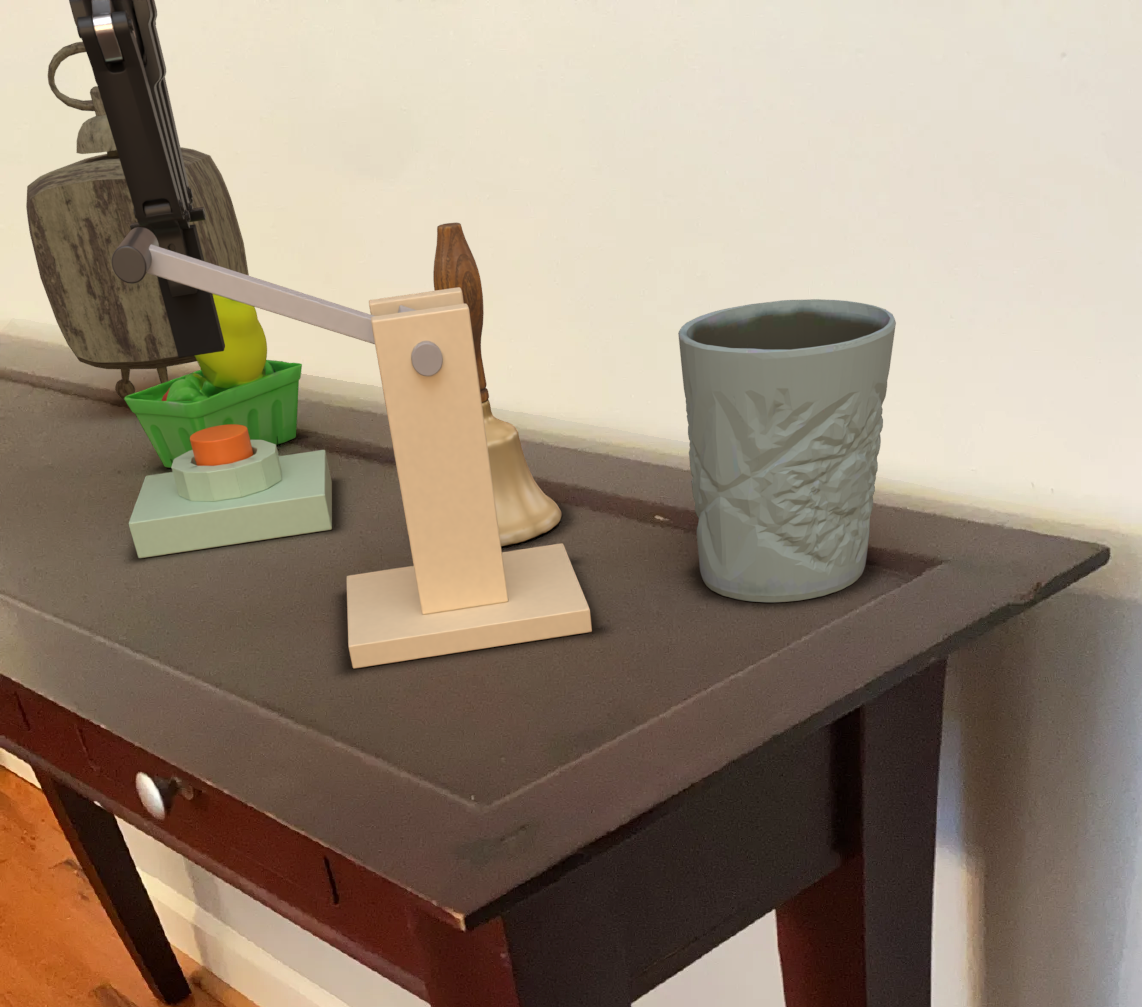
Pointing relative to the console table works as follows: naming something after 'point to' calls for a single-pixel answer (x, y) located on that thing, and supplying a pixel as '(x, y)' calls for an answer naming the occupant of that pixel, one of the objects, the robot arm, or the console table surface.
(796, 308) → the drinking glass
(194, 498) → the button block
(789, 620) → the console table surface
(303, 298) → the press lever
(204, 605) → the console table surface
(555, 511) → the hand bell
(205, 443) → the orange push button
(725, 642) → the console table surface
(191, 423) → the fruit basket
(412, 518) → the lever bracket
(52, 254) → the tabletop clock
